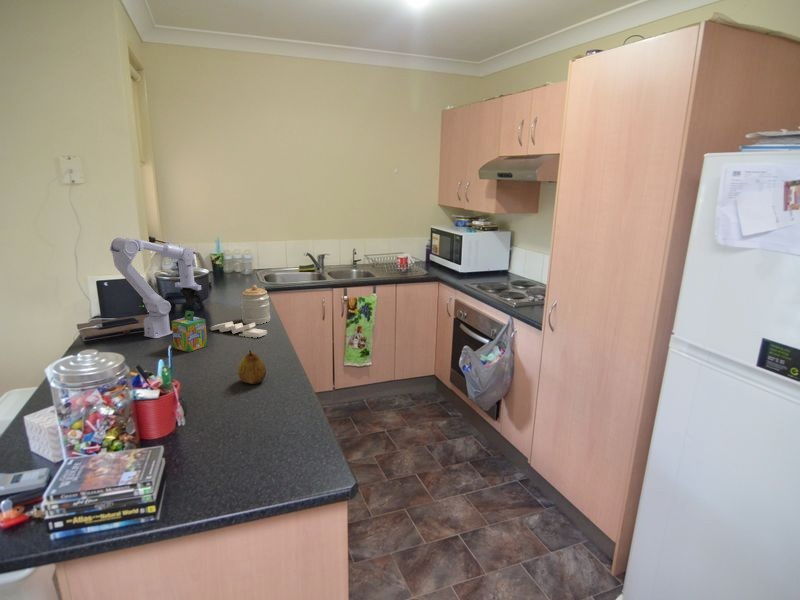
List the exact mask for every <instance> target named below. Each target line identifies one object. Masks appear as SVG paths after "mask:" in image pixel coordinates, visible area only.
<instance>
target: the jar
mask: <svg viewBox="0 0 800 600" xmlns="http://www.w3.org/2000/svg"><path fill="white" fill-rule="evenodd" d="M269 298H270V296H269V294H268V291H267V290H265V288H260V287H258V286H257V285H256V284H253V285H252V286H251V288H247V289H245V290H244V291H242V296H241V297H240V300H241V304H240V306H241V315H242V316H241V321H242V324H245V325H248V324H251V323H254V322H255V325H256V326H257V325H264V324H267V323H270V321H271V312H270V311H271V309H270V301H269ZM266 322H267V323H266ZM263 323H264V324H263Z"/></svg>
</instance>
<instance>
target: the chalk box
mask: <svg viewBox="0 0 800 600" xmlns="http://www.w3.org/2000/svg"><path fill="white" fill-rule="evenodd" d="M188 315H190V316H188ZM194 315H195V312H194V311H191V310H185V313H184V317H182V318H177V319H174V320H171V321H170V322H171V331H172V344H173V346H172V347H173V349H175V350H179V351H182V352H186V353H191V352H193V351H197V350H200V349H203V348H205V347H208V338H207V325H206V323H207V322H206V319H205V318H202V317H197V316H194Z"/></svg>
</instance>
